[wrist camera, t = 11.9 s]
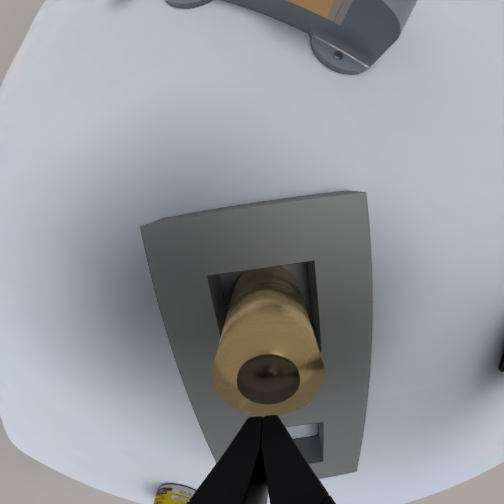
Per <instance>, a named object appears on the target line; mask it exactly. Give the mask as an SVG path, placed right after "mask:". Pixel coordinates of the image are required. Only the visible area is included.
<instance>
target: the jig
mask: <svg viewBox="0 0 504 504" xmlns="http://www.w3.org/2000/svg"><path fill="white" fill-rule="evenodd" d="M140 228H141V233H142V238H143V243H144V247H145V252H146V256H147V261H148V265H149V269H150V273H151V277H152V281H153V285H154V289H155V293H156V297H157V300H158V304H159V308H160V311H161V315H162V318H163V322H164V325H165V328H166V332H167V335H168V338H169V341H170V345H171V348H172V351H173V354H174V357H175V360H176V363H177V366H178V369H179V372H180V375H181V377H182V380H183V383H184V386H185V389H186V391H187V394H188V397H189V399H190V402H191V404H192V407H193V410H194V412H195V415H196V417H197V420H198V422H199V425H200V427H201V429H202V432H203V434H204V437H205V439H206V441H207V443H208V446H209V448H210V450H211V452H212V455H213V457H214V459H215V461H216V463H217V462H218V461H219V459H220V458H221V456H222V455H223V454H224V452H225V451H226V449H227V448H228V446H229V445H230V443H231V442H232V441H233V439H234V438H235V436H236V435H237V433H238V432H239V430H240V429H241V427H242V426H243V424H244V423H245V421H246V420H247V418H249V417H256V416H254V415H249V414H246V413H243V412H241V411H238V410H236V409H234V408H233V407H231V406H230V405H228V404H227V403H226V402H225V401H224V400H223V399H222V398H221V397H220V396H219V394H218V393H217V391H216V389H215V387H214V385H213V381H212V368H213V364H214V360H215V356H216V353H217V349H218V345H219V342H220V338H221V334H222V331H223V327H224V323H225V320H226V316H227V311H226V306H225V301H224V296H223V291H222V286H221V281H220V276H219V274H222V273H229V272H237V271H244V270H251V269H258V268H265V267H272V266H279V265H286V264H293V263H300V262H307V264H308V273H309V283H310V294H311V304H312V316H313V327H312V329H313V332H314V335H315V338H316V341H317V344H318V348H319V351H320V354H321V357H322V361H323V364H324V370H325V375H324V381H323V384H322V387H321V389H320V390H319V392H318V394H317V395H316V396H315V397H314V398H313V399H312V400H311V401H310V402H309V403H308V404H306V405H305V406H304V407H302V408H300V409H298V410H296V411H294V412H291V413H289V414H285V415H281V416H279V418H280V420H281V421H282V423H283V425H284V426H285V427H290V426H298V425H305V424H311V423H317V422H318V428H319V436H312V437H306V438H299V439H293V441H294V442H295V444H296V445H297V447H298V448H299V450H300V452H301V453H302V455H303V456H304V458H305V459H306V461H307V462H308V464H309V465H310V467H311V468H312V470H313V471H314V473H315V474H316V476H317V477H318V479H321V478H327V477H332V476H337V475H342V474H347V473H351V472H356V471H357V466H358V461H359V456H360V450H361V444H362V438H363V431H364V424H365V416H366V408H367V399H368V389H369V378H370V364H371V346H372V260H371V242H370V227H369V216H368V205H367V196H366V192H358V191H340V192H331V193H323V194H315V195H307V196H299V197H292V198H284V199H277V200H270V201H263V202H257V203H250V204H244V205H237V206H231V207H225V208H219V209H213V210H207V211H201V212H196V213H190V214H185V215H179V216H174V217H169V218H163V219H159V220H156V221H154V222H151V223H148V224H146V225H143V226H140Z"/></svg>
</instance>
